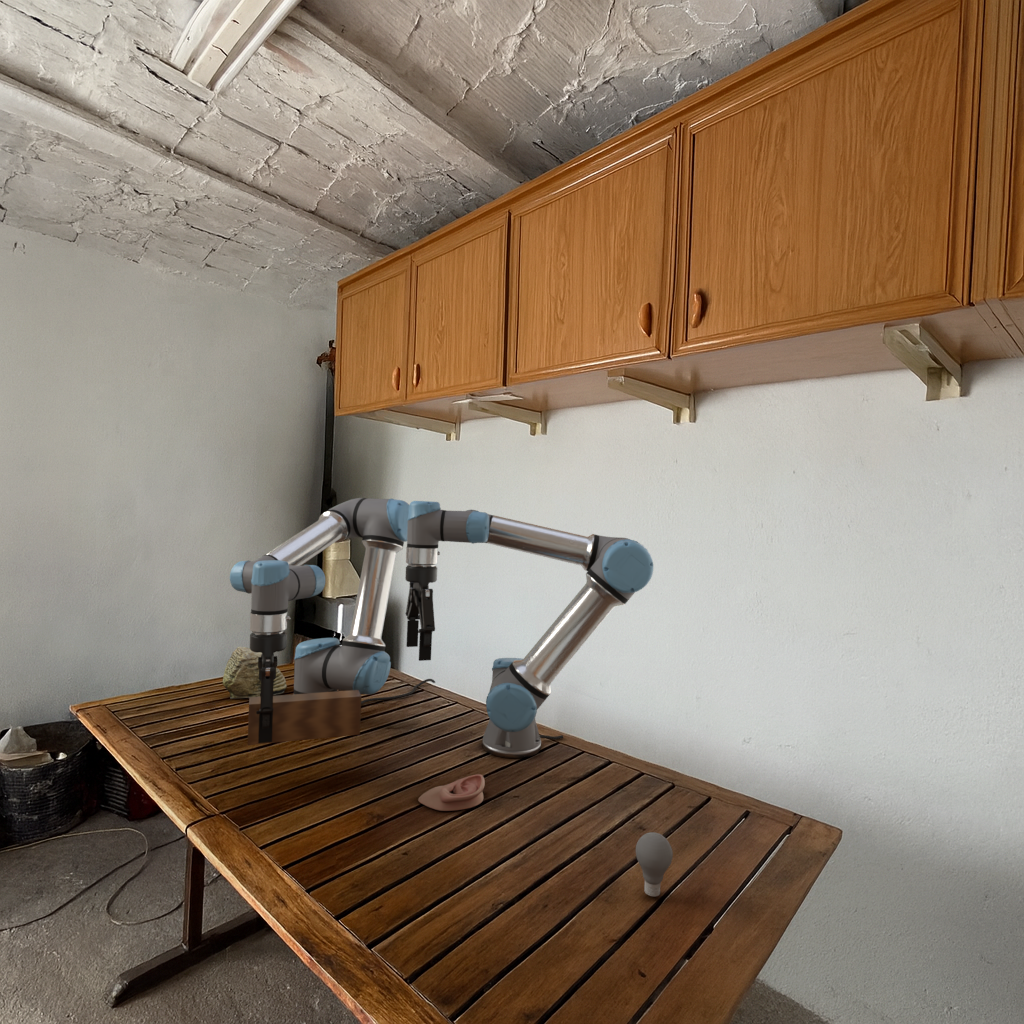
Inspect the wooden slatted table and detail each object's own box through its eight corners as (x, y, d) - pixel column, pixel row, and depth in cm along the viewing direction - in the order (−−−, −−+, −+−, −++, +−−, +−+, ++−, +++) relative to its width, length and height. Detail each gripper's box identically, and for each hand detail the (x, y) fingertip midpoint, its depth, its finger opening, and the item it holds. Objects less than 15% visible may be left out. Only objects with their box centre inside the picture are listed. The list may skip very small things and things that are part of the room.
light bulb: (629, 883, 108) (632, 825, 107) (663, 883, 108) (666, 825, 108) (639, 906, 102) (642, 844, 101) (675, 905, 102) (678, 844, 102)
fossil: (218, 695, 195) (220, 647, 195) (278, 685, 208) (279, 640, 207) (228, 703, 189) (230, 653, 188) (289, 692, 201) (290, 645, 201)
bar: (247, 745, 135) (248, 704, 135) (248, 736, 140) (249, 697, 140) (359, 734, 144) (361, 696, 144) (357, 726, 149) (358, 689, 148)
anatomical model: (413, 788, 131) (431, 765, 142) (412, 807, 131) (431, 783, 142) (475, 796, 128) (489, 773, 139) (474, 816, 128) (488, 791, 139)
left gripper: (288, 640, 131) (284, 751, 132) (285, 622, 148) (282, 721, 149) (249, 641, 129) (245, 755, 129) (251, 623, 145) (247, 724, 146)
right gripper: (451, 571, 142) (447, 665, 142) (424, 559, 165) (421, 640, 165) (418, 571, 139) (414, 667, 139) (396, 559, 162) (392, 641, 163)
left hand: (265, 736), depth 139 cm, fingers closed on bar, 5 cm apart
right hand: (418, 653), depth 152 cm, fingers open, 13 cm apart
